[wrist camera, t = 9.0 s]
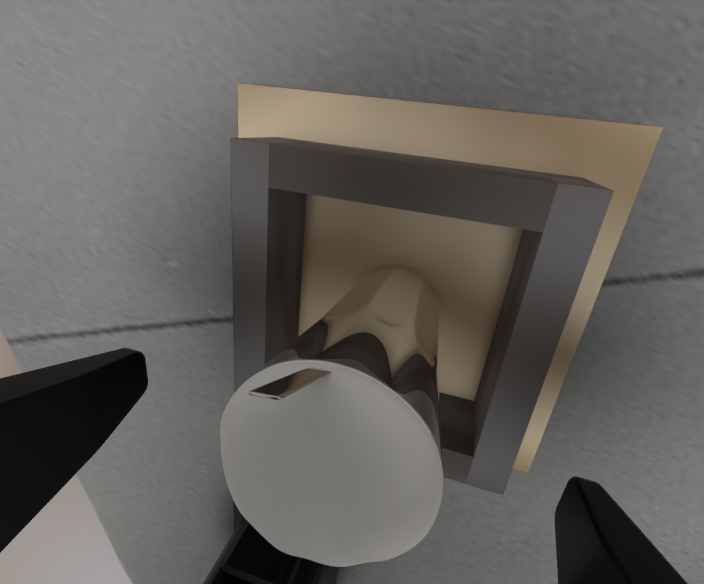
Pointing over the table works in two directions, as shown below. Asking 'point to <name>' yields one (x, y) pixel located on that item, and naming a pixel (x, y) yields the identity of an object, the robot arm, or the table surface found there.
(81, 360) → the robot arm
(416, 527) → the milkshake
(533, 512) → the table surface
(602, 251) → the dock
